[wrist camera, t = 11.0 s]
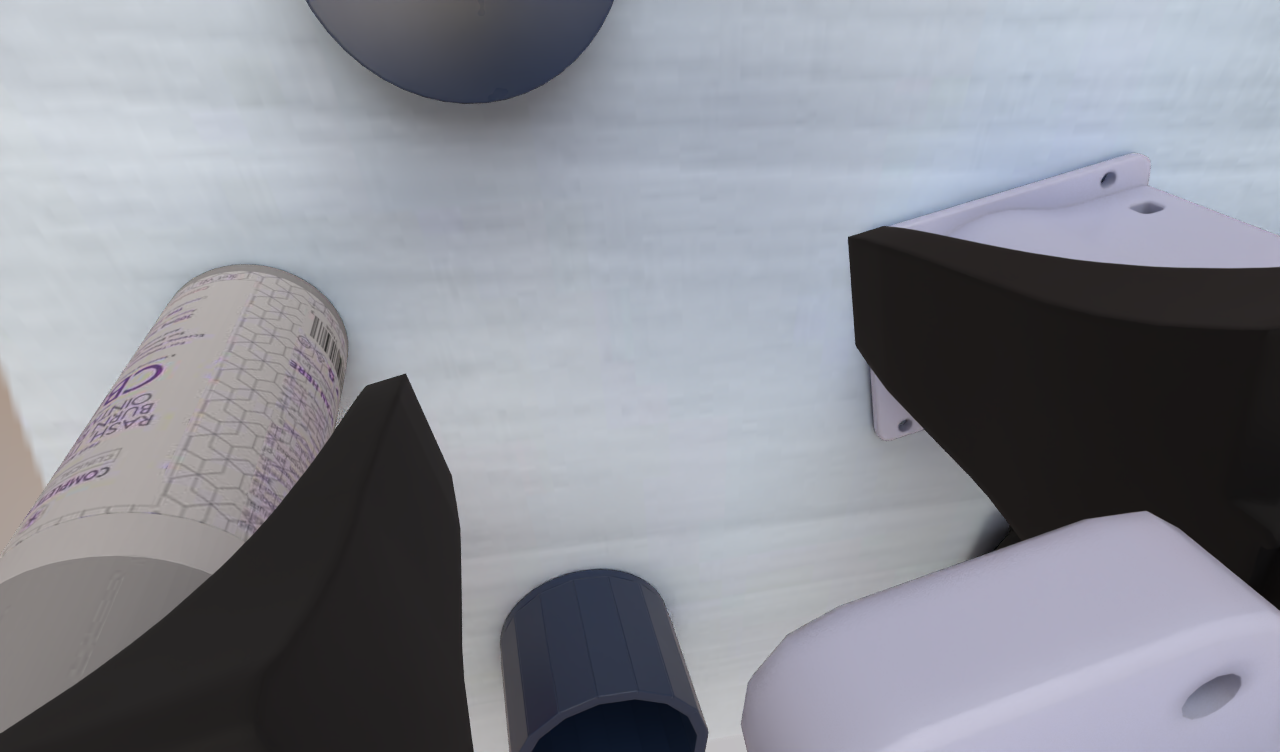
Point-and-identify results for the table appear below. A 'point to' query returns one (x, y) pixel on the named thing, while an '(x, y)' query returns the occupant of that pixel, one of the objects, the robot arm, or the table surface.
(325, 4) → the lid
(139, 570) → the container
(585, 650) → the tin
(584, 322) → the table surface
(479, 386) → the table surface
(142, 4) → the table surface
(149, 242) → the table surface
